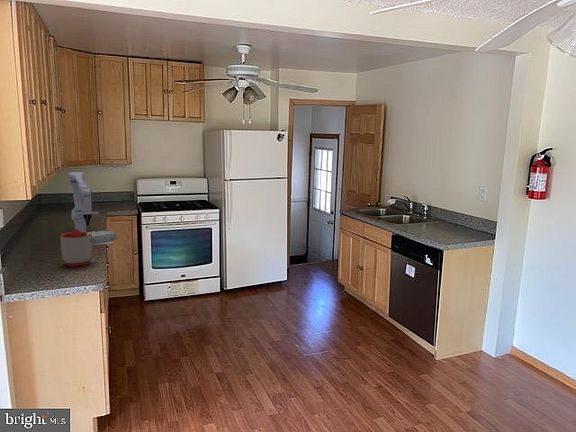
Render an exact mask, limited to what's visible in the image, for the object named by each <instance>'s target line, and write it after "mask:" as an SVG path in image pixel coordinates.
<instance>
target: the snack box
mask: <svg viewBox="0 0 576 432" xmlns="http://www.w3.org/2000/svg"><path fill="white" fill-rule="evenodd" d="M86 232H87V235H89V234H91V235H92V239H94V241H92V242H91V244H95V243H101V242H108V241H112V242H113V241H118V233H117V232H115V231H111V230H109V229H108V230H107V229H102V230H95V231H86Z"/></svg>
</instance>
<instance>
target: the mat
mask: <svg viewBox="0 0 576 432" xmlns="http://www.w3.org/2000/svg"><path fill="white" fill-rule="evenodd" d="M110 244H111V245H112V244H114V242H113V241H108V242H101V243H95V244H91V246H98V245H99V246H100V245H110Z"/></svg>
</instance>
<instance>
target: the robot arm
mask: <svg viewBox="0 0 576 432" xmlns="http://www.w3.org/2000/svg"><path fill="white" fill-rule="evenodd" d="M84 180H85V174H84V172H83V171H78V172H77V171H73V172H67V182H68V185H70V186H71V188H72V189H71V190H72V197H73V201H74V208H73V209H71V212H70V213H71V220H72V221H74V229H77V230H79V231H84V232H87V228H86V227H89V226H90V222H91V220H92V216H95V215H96V216H99V214H100V212H99V211H92V208H93V207H92V197H93V190H92V188H90V187H89V186H88V185H87V183H86V182H85V181H84Z"/></svg>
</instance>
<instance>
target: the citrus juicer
mask: <svg viewBox="0 0 576 432" xmlns="http://www.w3.org/2000/svg"><path fill="white" fill-rule="evenodd" d="M87 232H88V231H86V232H84V231H79V230H77V229H75V228H73V230H72V231H68V232H63V233H61V234H60V235H59V236H60V238H59V239H60V250H61V251H60V253H61V256H62V260H63V262H64V264H65V266H66V267H67V266H68V267H72V268H75V267H82V266H86V265H88V264H89V263H90V261H91V257H92V247H93V246H92V245H91V242H92V241H94V239H92V235H91V234H89V235H87Z"/></svg>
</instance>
